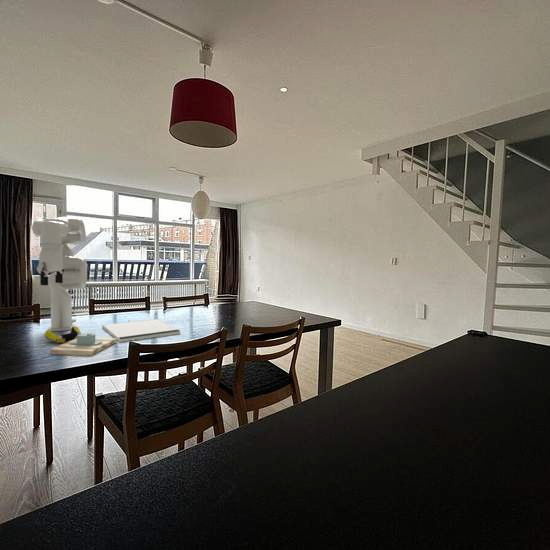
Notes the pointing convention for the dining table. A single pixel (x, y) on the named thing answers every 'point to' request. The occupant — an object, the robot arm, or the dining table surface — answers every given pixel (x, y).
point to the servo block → (86, 340)
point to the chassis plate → (82, 347)
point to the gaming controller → (64, 337)
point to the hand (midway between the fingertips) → (51, 284)
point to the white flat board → (139, 330)
